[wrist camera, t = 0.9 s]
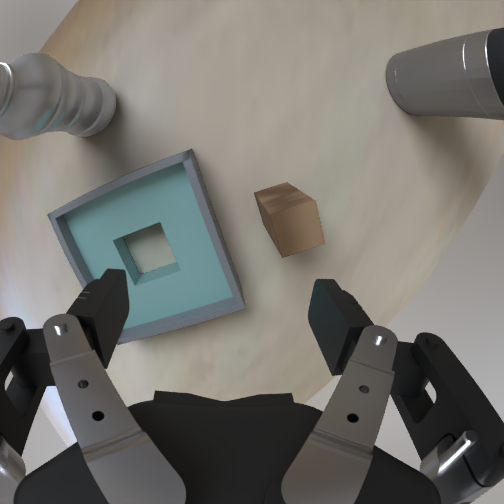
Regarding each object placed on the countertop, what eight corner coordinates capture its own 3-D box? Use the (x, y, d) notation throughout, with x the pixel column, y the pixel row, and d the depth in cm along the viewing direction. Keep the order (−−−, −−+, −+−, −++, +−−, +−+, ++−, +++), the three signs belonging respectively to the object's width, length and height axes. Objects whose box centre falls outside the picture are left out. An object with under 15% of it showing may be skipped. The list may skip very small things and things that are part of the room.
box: (191, 148, 30) (187, 150, 25) (241, 287, 37) (245, 308, 32) (66, 203, 30) (47, 214, 25) (126, 322, 37) (117, 344, 32)
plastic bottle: (67, 134, 27) (-57, 149, 8) (80, 80, 25) (-35, 46, 6) (114, 139, 28) (0, 152, 10) (128, 82, 26) (30, 30, 8)
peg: (287, 182, 33) (315, 200, 24) (295, 214, 34) (325, 243, 25) (253, 192, 33) (270, 215, 24) (263, 224, 34) (282, 257, 25)
